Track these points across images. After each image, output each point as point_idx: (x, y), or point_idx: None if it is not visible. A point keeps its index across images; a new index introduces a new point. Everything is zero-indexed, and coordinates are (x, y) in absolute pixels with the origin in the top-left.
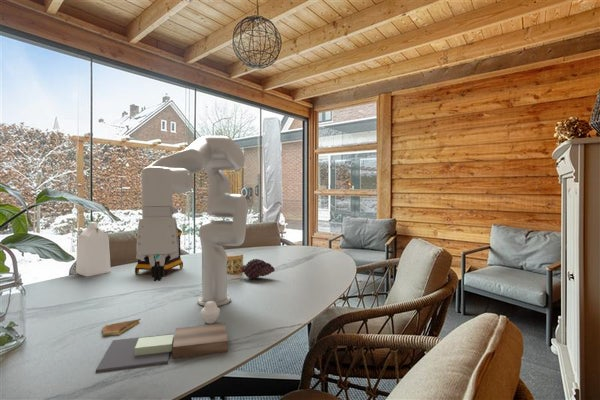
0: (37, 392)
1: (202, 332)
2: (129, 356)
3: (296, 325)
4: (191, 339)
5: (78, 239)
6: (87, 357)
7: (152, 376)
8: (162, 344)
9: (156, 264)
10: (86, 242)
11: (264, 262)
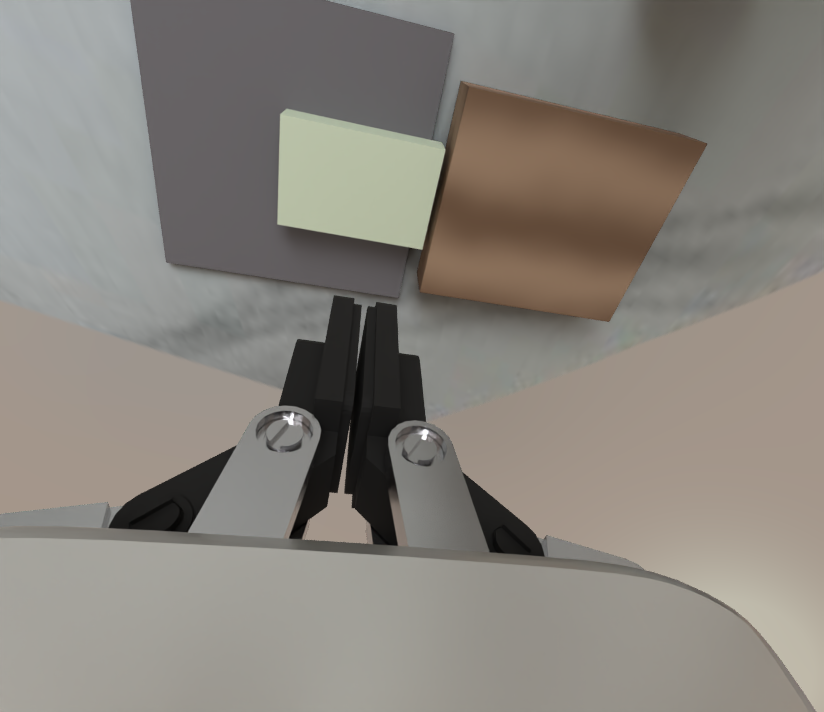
0: (38, 304)
1: (564, 209)
2: (263, 211)
3: None
4: (499, 258)
5: None
6: (72, 108)
7: None
8: (386, 237)
9: (329, 489)
10: None
11: None
